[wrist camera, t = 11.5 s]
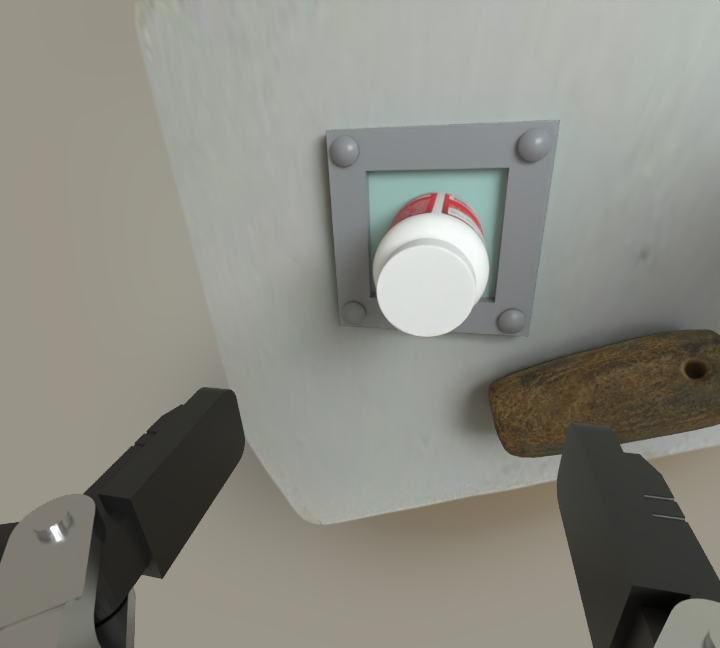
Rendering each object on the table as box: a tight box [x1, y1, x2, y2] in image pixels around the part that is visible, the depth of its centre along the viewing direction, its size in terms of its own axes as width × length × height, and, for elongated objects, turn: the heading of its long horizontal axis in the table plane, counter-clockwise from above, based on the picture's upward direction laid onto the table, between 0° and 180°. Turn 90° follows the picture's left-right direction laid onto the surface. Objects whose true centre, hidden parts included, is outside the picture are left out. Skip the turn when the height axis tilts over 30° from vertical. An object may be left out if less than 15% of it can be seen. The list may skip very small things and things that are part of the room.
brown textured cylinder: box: [489, 330, 720, 458], centre depth 29 cm, size 15×7×7 cm, turn 122°
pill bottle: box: [373, 191, 489, 337], centre depth 24 cm, size 6×6×11 cm
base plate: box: [326, 120, 560, 337], centre depth 29 cm, size 14×14×2 cm
